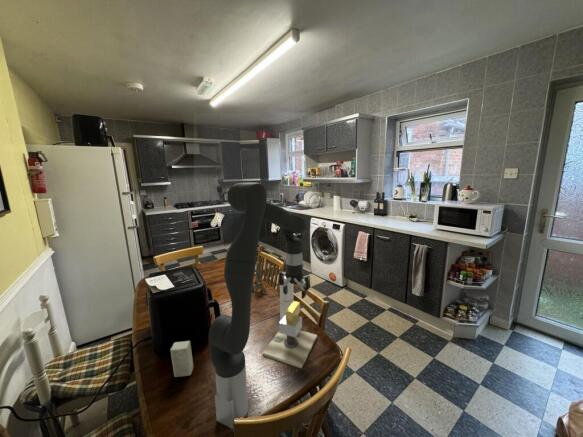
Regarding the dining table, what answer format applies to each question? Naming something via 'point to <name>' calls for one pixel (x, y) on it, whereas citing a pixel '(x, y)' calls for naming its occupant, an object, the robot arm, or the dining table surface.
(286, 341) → the post base
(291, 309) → the coupling
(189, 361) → the skincare box
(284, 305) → the tall white block
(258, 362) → the dining table surface
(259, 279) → the eiffel tower
